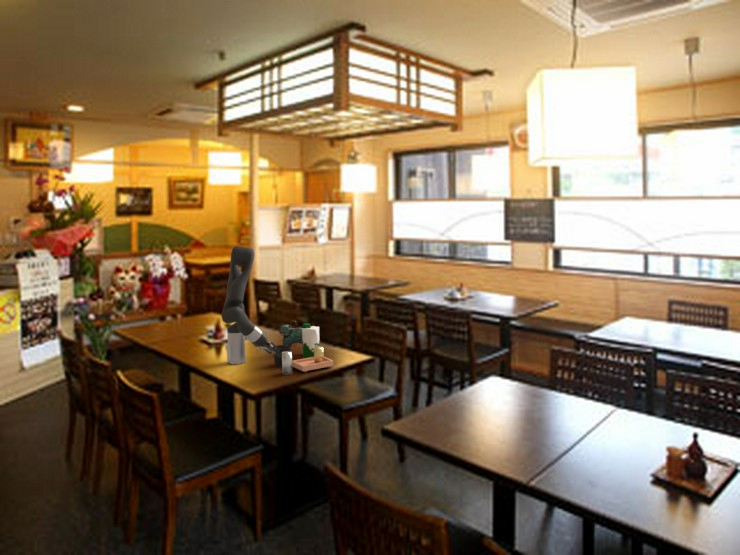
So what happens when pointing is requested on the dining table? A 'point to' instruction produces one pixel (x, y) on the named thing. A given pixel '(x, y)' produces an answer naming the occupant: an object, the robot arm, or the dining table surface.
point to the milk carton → (310, 339)
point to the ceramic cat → (291, 334)
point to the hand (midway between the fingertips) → (275, 354)
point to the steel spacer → (287, 362)
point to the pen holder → (279, 359)
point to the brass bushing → (318, 354)
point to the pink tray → (311, 364)
